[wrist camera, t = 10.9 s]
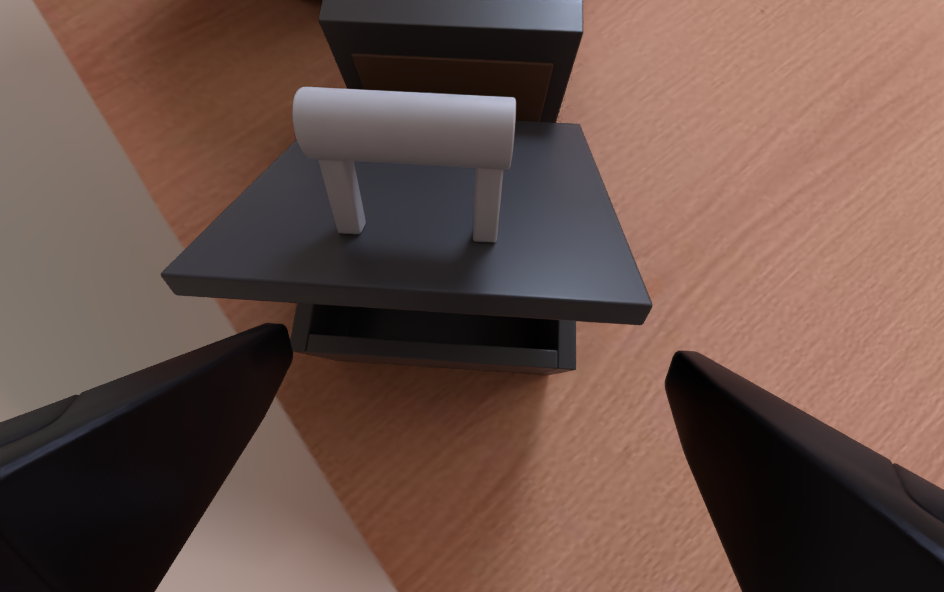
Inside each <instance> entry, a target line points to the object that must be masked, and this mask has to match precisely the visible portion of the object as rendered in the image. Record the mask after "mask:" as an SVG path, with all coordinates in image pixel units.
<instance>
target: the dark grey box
mask: <svg viewBox="0 0 944 592" xmlns="http://www.w3.org/2000/svg"><path fill="white" fill-rule="evenodd" d="M290 342H291V346H292V350H293V352H298V353H303V354H307V355H312V356H317V357H322V358H327V359H331V360H336V361H350V362H364V363H379V364H394V365H408V366H423V367H438V368H452V369H467V370H482V371H496V372H511V373H526V374H540V375H552V374H557V373H562V372H567V371H572V370H576V321H567V320H552V319H536V318H521V317H505V316H490V315H474V314H459V313H444V312H428V311H413V310H397V309H382V308H366V307H351V306H335V305H320V304H304V303H297V308H296V313H295V318H294V323H293V329H292V334H291V339H290Z"/></svg>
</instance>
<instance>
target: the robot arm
mask: <svg viewBox="0 0 944 592" xmlns="http://www.w3.org/2000/svg"><path fill="white" fill-rule="evenodd" d="M292 360H293V350H292V346H291V342H290V338H289V334H288V330H287V328H286V326H285V325H283V324H275V323H265V324H262V325H260V326H257V327H254V328H252V329H249V330H246V331H244V332H241V333H238V334H236V335H233V336H230V337H228V338H225V339H223V340H220V341H217V342H215V343H212V344H209V345H207V346H204V347H201V348H199V349H196V350H193V351H191V352H188V353H185V354H183V355H180V356H177V357H175V358H172V359H169V360H167V361H164V362H161V363H159V364H156V365H153V366H151V367H148V368H146V369H143V370H140V371H137V372H135V373H132V374H129V375H127V376H124V377H122V378H119V379H116V380H114V381H111V382H109V383H106V384H103V385H100V386H98V387H95V388H92V389H90V390H87V391H84V392H82V393H81V394H80V395H73V396H71V397H68V398H66V399H63V400H60V401H58V402H55V403H52V404H50V405H47V406H44V407H42V408H39V409H36V410H33V411H31V412H28V413H25V414H23V415H19V416H17V417H14V418H12V419H9V420H6V421H3V422H0V592H155V590H156V589H157V587H158V585H159V584H160V582H161V581H162V579H163V577H164V576H165V574H166V573H167V571H168V570H169V568H170V567H171V565H172V563H173V562H174V560H175V559H176V557H177V555H178V554H179V552H180V551H181V549H182V548H183V546H184V544H185V543H186V541H187V540H188V538H189V536H190V535H191V533H192V532H193V530H194V528H195V527H196V525H197V524H198V522H199V521H200V519H201V517H202V516H203V514H204V512H205V511H206V509H207V508H208V506H209V505H210V503H211V502H212V500H213V498H214V497H215V495H216V494H217V492H218V490H219V489H220V487H221V486H222V484H223V482H224V481H225V479H226V478H227V476H228V474H229V473H230V471H231V470H232V468H233V466H234V465H235V463H236V462H237V460H238V459H239V457H240V455H241V454H242V452H243V450H244V449H245V448H246V446H247V444H248V443H249V441H250V440H251V438H252V436H253V435H254V433H255V432H256V430H257V429H258V427H259V425H260V423H261V422H262V420H263V419H264V417H265V415H266V413H267V411H268V409H269V407H270V405H271V403H272V401H273V399H274V397H275V395H276V393H277V391H278V389H279V387H280V385H281V383H282V381H283V379H284V377H285V375H286V373H287V371H288V369H289V367H290V365H291V363H292ZM665 390H666V394H667V398H668V401H669V404H670V408H671V411H672V415H673V418H674V421H675V425H676V428H677V432H678V435H679V438H680V442H681V445H682V448H683V451H684V454H685V456H686V459H687V461H688V464H689V466H690V469H691V471H692V474H693V476H694V478H695V481H696V483H697V485H698V488H699V490H700V493H701V495H702V497H703V500H704V502H705V505H706V507H707V509H708V512H709V514H710V516H711V519H712V521H713V524H714V526H715V528H716V531H717V533H718V536H719V538H720V540H721V543H722V545H723V547H724V550H725V552H726V555H727V557H728V559H729V562H730V564H731V567H732V569H733V571H734V574H735V576H736V578H737V581H738V583H739V586H740V588H741V590H742V592H944V490H943V489H941V488H940V487H938V486H936V485H934V484H932V483H930V482H929V481H927V480H925V479H923V478H921V477H920V476H918V475H916V474H914V473H912V472H911V471H909V470H907V469H905V468H904V467H902V466H900V465H898V464H895V463H894V464H892V462H891V461H890V460H889V459H887V458H886V457H884V456H882V455H880V454H878V453H877V452H875V451H873V450H871V449H870V448H868V447H866V446H864V445H862V444H861V443H859V442H857V441H855V440H853V439H852V438H850V437H848V436H846V435H845V434H843V433H841V432H839V431H837V430H836V429H834V428H832V427H830V426H829V425H827V424H825V423H823V422H821V421H820V420H818V419H816V418H814V417H812V416H811V415H809V414H807V413H805V412H804V411H802V410H800V409H798V408H796V407H795V406H793V405H791V404H789V403H788V402H786V401H784V400H782V399H780V398H779V397H777V396H775V395H773V394H771V393H770V392H768V391H766V390H764V389H763V388H761V387H759V386H757V385H755V384H754V383H752V382H750V381H748V380H747V379H745V378H743V377H741V376H739V375H738V374H736V373H734V372H732V371H730V370H729V369H727V368H725V367H723V366H722V365H720V364H718V363H716V362H714V361H713V360H711V359H709V358H707V357H706V356H704V355H702V354H700V353H698V352H695V351H677V352H676V353H675V354H674V356H673V358H672V361H671V364H670V367H669V370H668V373H667V376H666V379H665Z"/></svg>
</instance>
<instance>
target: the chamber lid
mask: <svg viewBox="0 0 944 592" xmlns="http://www.w3.org/2000/svg"><path fill="white" fill-rule="evenodd" d="M292 118H293V127H294V132H295V135H296V140H295V141H294V142H293V143H292V144H291V145H290V146H289V147H288V148H287V149H286V150H285V151H284V152H283V153H282V154H281V155H280V156H279V157H278V158H277V159H276V160H275V161H274V162H273V163H272V164H271V165H270V166H269V167H268V168H267V169H266V170H265V171H264V172H263V173H262V174H261V175H260V176H259V177H258V178H257V179H256V180H255V181H254V182H253V183H252V184H251V185H250V186H249V187H248V188H247V189H246V190H245V191H244V192H243V193H242V194H241V195H240V196H239V197H238V198H237V199H236V200H235V201H233V202H232V203H231V204H230V205H229V206H228V207H227V208H226V209H225V210H224V211H223V212H222V213H221V214H220V215H219V216H218V217H217V218H216V219H215V220H214V221H213V222H212V223H211V224H210V225H209V226H208V227H207V228H206V229H205V230H204V231H203V232H202V233H201V234H200V235H199V236H198V237H197V238H196V239H195V240H194V241H193V242H192V243H191V244H190V245H189V246H188V247H187V248H186V249H185V250H184V251H183V252H182V253H181V254H180V255H179V256H178V257H177V258H176V259H175V260H174V261H173V262H172V263H171V264H170V265H169V266H168V267H167V268H166V269H165V270H164V271H163V272H162V273H161V277H162V278H163V279H164V281H165V282H166V283H167V285H168V286H169V287H170V289H171V290H172V291H173V293H174V294H176V295H182V296H197V297H212V298H227V299H243V300H258V301H273V302H289V303H304V304H320V305H335V306H351V307H366V308H382V309H397V310H413V311H428V312H444V313H459V314H474V315H490V316H505V317H521V318H536V319H552V320H567V321H583V322H598V323H614V324H629V325H642V324H643V323H644V321H645V319H646V318H647V316H648V314H649V312H650V310H651V308H652V302H651V300H650V297H649V295H648V292H647V290H646V287H645V285H644V282H643V280H642V277H641V275H640V272H639V270H638V267H637V265H636V262H635V260H634V257H633V255H632V253H631V250H630V248H629V245H628V243H627V240H626V238H625V235H624V233H623V230H622V228H621V225H620V223H619V220H618V218H617V215H616V213H615V210H614V208H613V205H612V203H611V201H610V198H609V196H608V193H607V191H606V188H605V186H604V183H603V181H602V178H601V176H600V173H599V171H598V168H597V166H596V163H595V161H594V158H593V156H592V154H591V151H590V149H589V146H588V144H587V141H586V139H585V136H584V134H583V131H582V129H581V126H580V124H570V123H551V122H532V121H515V118H516V100H515V98H513V97H495V96H476V95H456V94H436V93H417V92H397V91H378V90H358V89H339V88H319V87H302V88H300V89H298V90H297V92H296V94H295V96H294V100H293V107H292Z"/></svg>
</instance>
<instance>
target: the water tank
mask: <svg viewBox="0 0 944 592" xmlns="http://www.w3.org/2000/svg"><path fill="white" fill-rule="evenodd" d="M319 23H320V25H321V28H322V30H323V32H324V35H325V37H326V39H327V42H328V44H329V46H330V49H331V51H332V54H333V56H334V58H335V61H336V63H337V65H338V68H339V70H340V72H341V75H342V77H343V80H344V82H345V84H346V87H347V89H358V90H378V91H397V92H417V93H436V94H456V95H476V96H495V97H513V98H515V100H516V118H515V121H532V122H551V123H556V120H557V117H558V114H559V110H560V107H561V104H562V101H563V97H564V94H565V91H566V87H567V84H568V81H569V78H570V74H571V71H572V68H573V64H574V61H575V58H576V55H577V51H578V48H579V45H580V41H581V38H582V35H583V0H323V1H322V6H321V11H320V15H319Z"/></svg>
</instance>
